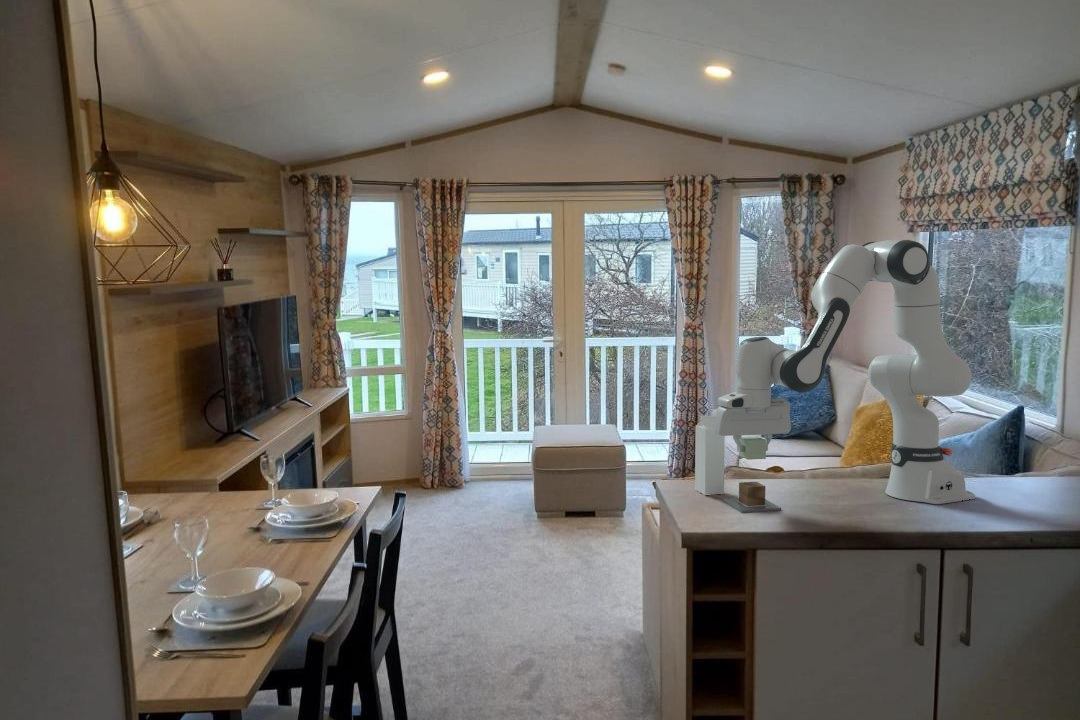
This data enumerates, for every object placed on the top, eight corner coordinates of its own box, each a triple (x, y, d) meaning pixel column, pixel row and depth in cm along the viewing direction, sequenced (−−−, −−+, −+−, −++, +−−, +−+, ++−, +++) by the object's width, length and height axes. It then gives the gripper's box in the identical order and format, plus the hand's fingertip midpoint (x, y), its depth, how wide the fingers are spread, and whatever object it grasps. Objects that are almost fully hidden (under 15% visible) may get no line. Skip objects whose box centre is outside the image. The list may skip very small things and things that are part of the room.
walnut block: (756, 499, 194) (756, 481, 194) (765, 505, 189) (765, 486, 189) (738, 500, 193) (739, 482, 193) (747, 506, 189) (747, 487, 188)
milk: (724, 494, 203) (725, 416, 201) (704, 496, 201) (706, 417, 199) (713, 489, 209) (714, 413, 207) (694, 490, 207) (695, 414, 205)
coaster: (761, 498, 198) (761, 496, 198) (781, 510, 187) (781, 507, 187) (723, 501, 196) (723, 498, 196) (741, 512, 185) (741, 510, 185)
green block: (756, 455, 193) (757, 436, 193) (765, 458, 188) (766, 439, 188) (739, 455, 192) (739, 437, 192) (747, 459, 187) (748, 440, 187)
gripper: (783, 396, 194) (782, 447, 195) (712, 398, 190) (711, 450, 191) (796, 399, 188) (795, 452, 189) (722, 401, 184) (721, 455, 185)
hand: (752, 451), depth 190 cm, fingers closed on green block, 5 cm apart
